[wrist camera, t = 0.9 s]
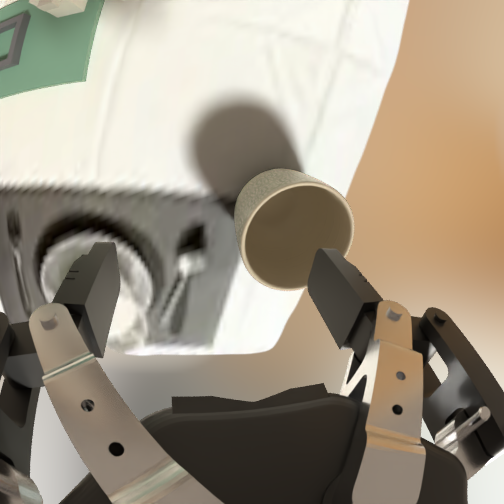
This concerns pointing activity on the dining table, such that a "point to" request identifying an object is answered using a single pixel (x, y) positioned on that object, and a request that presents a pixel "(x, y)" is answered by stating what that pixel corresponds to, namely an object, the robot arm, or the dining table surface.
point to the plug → (60, 6)
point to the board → (44, 46)
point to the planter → (289, 226)
